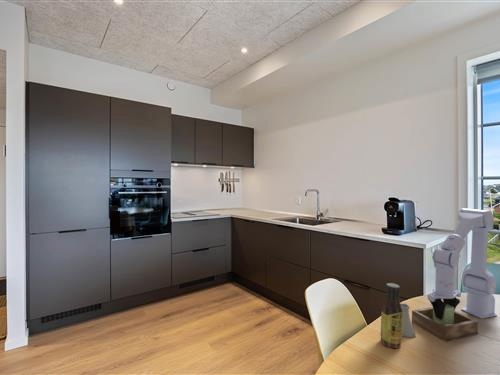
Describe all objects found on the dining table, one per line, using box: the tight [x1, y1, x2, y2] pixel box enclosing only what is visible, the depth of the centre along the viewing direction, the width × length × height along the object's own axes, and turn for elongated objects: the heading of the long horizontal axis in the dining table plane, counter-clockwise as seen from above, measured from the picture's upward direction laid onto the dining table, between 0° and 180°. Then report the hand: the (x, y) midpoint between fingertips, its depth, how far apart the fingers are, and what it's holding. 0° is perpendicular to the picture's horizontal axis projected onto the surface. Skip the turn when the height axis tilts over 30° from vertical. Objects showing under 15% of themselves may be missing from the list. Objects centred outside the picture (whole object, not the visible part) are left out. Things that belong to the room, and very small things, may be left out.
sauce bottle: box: [380, 282, 403, 349], centre depth 88 cm, size 6×6×20 cm
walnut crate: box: [411, 306, 479, 342], centre depth 98 cm, size 16×13×4 cm
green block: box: [433, 304, 455, 325], centre depth 98 cm, size 4×4×6 cm
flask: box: [400, 302, 416, 338], centre depth 95 cm, size 7×7×10 cm
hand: (443, 317), depth 98 cm, fingers closed on green block, 4 cm apart
